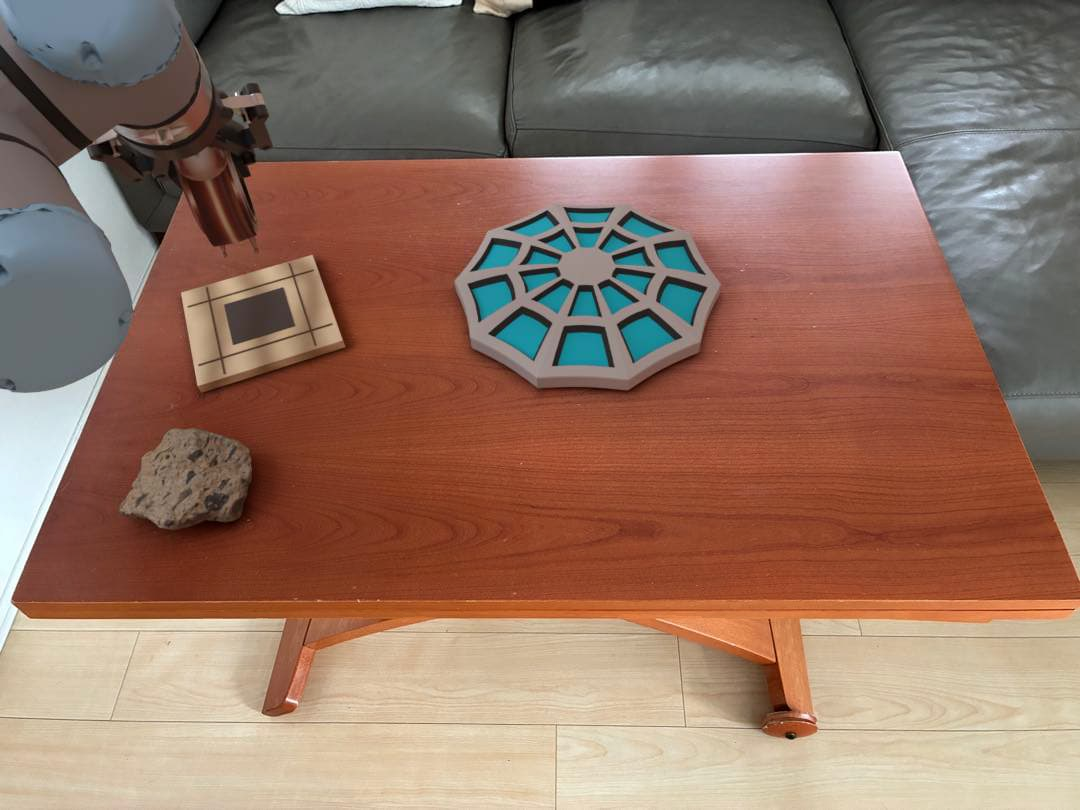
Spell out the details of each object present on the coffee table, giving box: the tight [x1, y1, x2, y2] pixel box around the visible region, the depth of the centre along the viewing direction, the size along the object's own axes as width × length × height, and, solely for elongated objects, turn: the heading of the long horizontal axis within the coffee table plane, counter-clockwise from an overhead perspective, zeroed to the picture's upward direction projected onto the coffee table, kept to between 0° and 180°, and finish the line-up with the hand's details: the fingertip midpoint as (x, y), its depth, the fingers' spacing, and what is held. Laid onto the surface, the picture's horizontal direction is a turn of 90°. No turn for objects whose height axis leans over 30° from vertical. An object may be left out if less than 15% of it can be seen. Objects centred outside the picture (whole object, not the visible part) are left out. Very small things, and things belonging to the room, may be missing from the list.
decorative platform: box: [454, 203, 722, 391], centre depth 88 cm, size 31×29×5 cm
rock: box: [118, 427, 253, 531], centre depth 73 cm, size 11×11×4 cm
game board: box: [180, 254, 346, 394], centre depth 89 cm, size 16×16×1 cm
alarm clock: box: [173, 146, 260, 259], centre depth 70 cm, size 11×5×15 cm, turn 22°
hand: (213, 170), depth 74 cm, fingers closed on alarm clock, 5 cm apart
